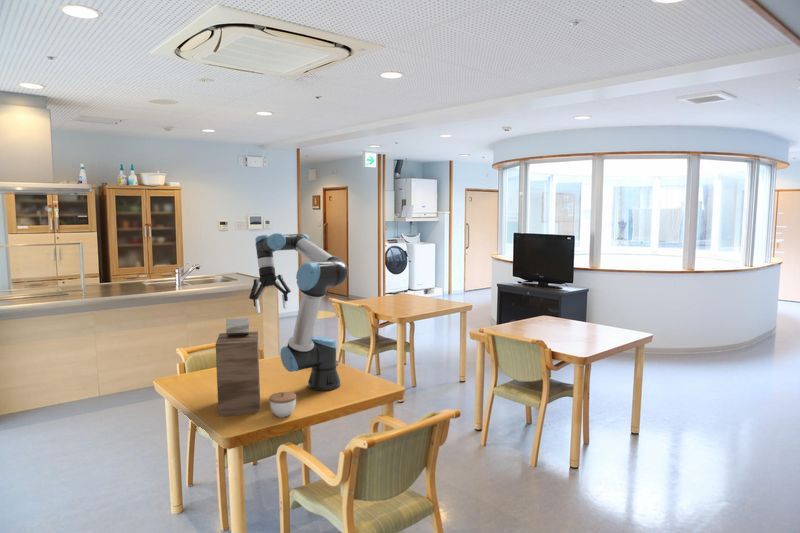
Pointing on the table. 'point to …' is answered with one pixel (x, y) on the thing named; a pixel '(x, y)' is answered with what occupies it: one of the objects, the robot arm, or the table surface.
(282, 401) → the lidded jar
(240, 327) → the pale grey block
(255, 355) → the stand
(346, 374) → the table surface
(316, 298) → the robot arm
